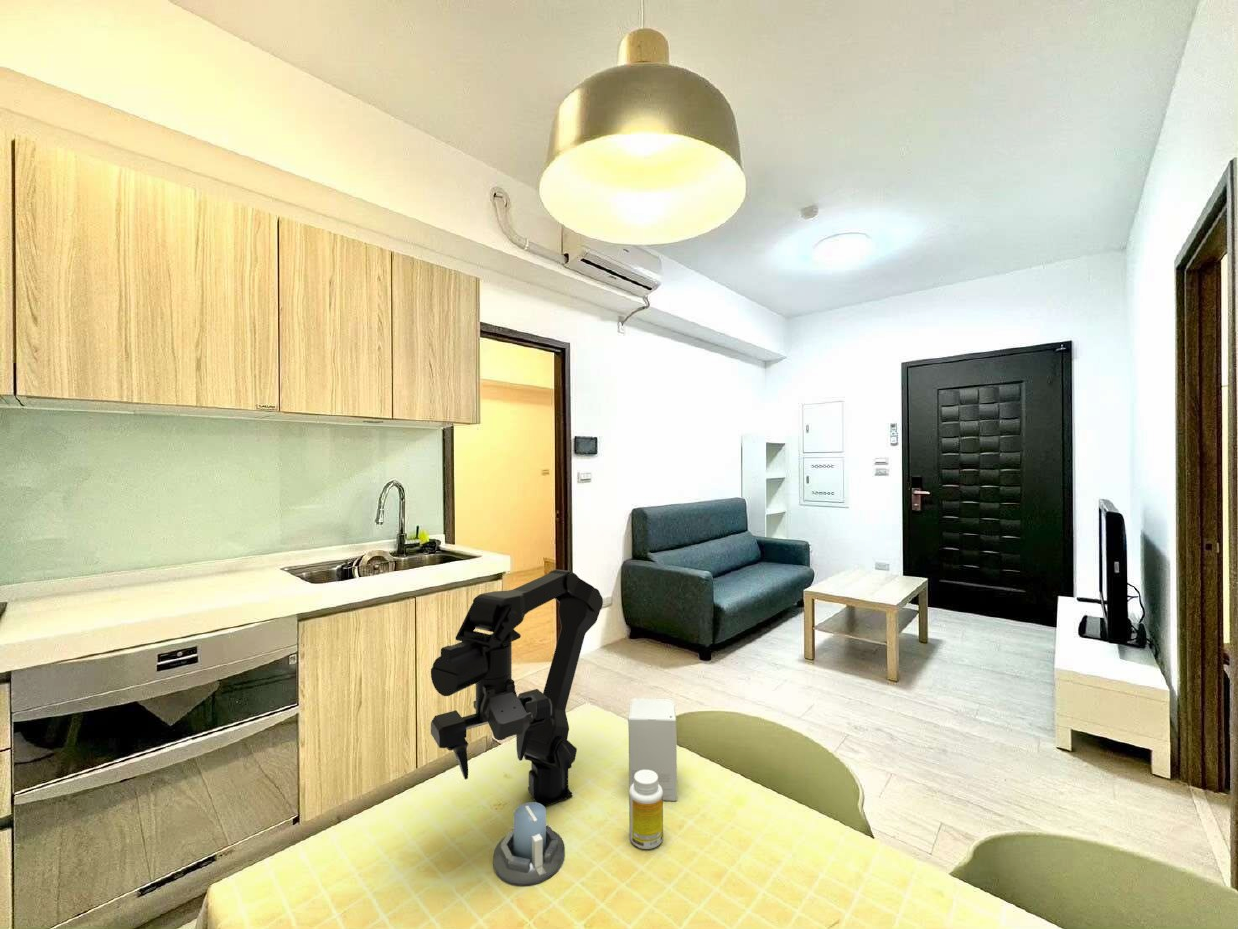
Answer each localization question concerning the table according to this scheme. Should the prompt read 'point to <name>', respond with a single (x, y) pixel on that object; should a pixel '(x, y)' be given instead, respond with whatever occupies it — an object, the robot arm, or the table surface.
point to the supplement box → (654, 742)
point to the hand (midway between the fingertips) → (493, 768)
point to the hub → (528, 861)
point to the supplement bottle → (646, 810)
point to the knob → (530, 832)
